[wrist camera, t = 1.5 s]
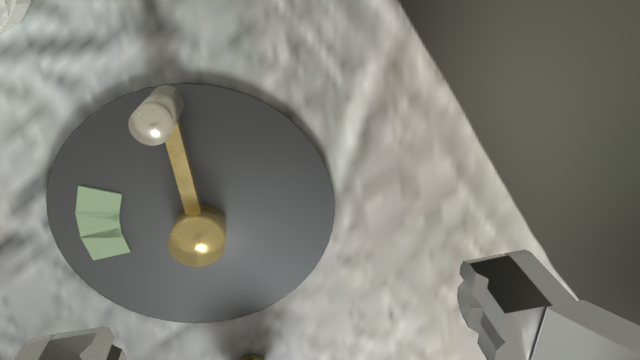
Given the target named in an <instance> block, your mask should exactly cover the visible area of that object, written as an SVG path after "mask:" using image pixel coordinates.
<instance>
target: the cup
mask: <svg viewBox="0 0 640 360" xmlns="http://www.w3.org/2000/svg"><path fill="white" fill-rule="evenodd" d="M239 360H263V359H262V358H261V357H259V356H257V355H247V356H244V357H242V358H240V359H239Z"/></svg>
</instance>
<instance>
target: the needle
mask: <svg viewBox="0 0 640 360" xmlns="http://www.w3.org/2000/svg"><path fill="white" fill-rule="evenodd" d="M184 106H185V99H184V97H183V95H182V93H181V92H180V91H179V90H178V89H177V88H175V87H173V86H170V85H162V86H159V87H157V88H156V89H154V91H153V92H152V93H151V94H150V95H149V96H148V97H147V98H146V99H145V100H144V101H143V102H142V104H141V105H140V106H139V107H138V108H137V109H136V110H135V111H134V112H133V113H132V115H131V116H130V118H129V122H128V126H129V130H130V133H131V134H132V136H133V137H134V138H135V139H136V140H137V141H139V142H140V143H142V144H145V145H150V146H155V145H159V144H162V143H164V142H165V144H166V147H167V151H168V154H169V158H170V161H171V165H172V168H173V172H174V175H175V179H176V182H177V186H178V189H179V193H180V196H181V200H182V203H183V207H184V208H182V209H181V210H180V211H179V212H178V214H177V215H176V217H175V221H174V224H173V227H172V230H171V233H170V237H169V240H168V248H169V251H170V253H171V255H172V256H173V257H174V258H175V259H176V260H177V261H178V262H180V263H182V264H184V265H187V266H191V267H203V266H207V265H210V264H212V263H214V262H216V261H217V260H218V259H219V258H220V257H221V256H222V254H223V252H224V250H225V242H226V230H227V221H226V218H225V216H224V214H223V213H222V212H221V211H220V210H219V209H218V208H216V207H215V206H213V205H210V204H207V203H201V200H200V196H199V192H198V188H197V185H196V181H195V177H194V173H193V169H192V165H191V161H190V158H189V154H188V150H187V146H186V142H185V138H184V134H183V131H182V127H181V123H180V119H179V117H180V115H181V113H182V111H183V109H184Z"/></svg>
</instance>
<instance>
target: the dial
mask: <svg viewBox="0 0 640 360" xmlns="http://www.w3.org/2000/svg"><path fill="white" fill-rule="evenodd" d="M166 85H170V86H173V87H175V88H177V89H178V90H179V91H180V92H181V93H182V95H183V97H184V99H185V106H184V109H183V111H182V113H181V115H180V117H179V119H180V123H181V127H182V131H183V134H184V138H185V142H186V146H187V150H188V154H189V158H190V161H191V165H192V169H193V173H194V177H195V181H196V185H197V188H198V192H199V196H200V200H201V203H207V204H210V205H213V206H215V207H216V208H218V209H219V210H220V211H221V212H222V213H223V214H224V216H225V218H226V221H227V230H226V242H225V250H224V252H223V254H222V256H221V257H220V258H219V259H218V260H217V261H216V262H214V263H212V264H210V265H207V266H203V267H191V266H187V265H184V264H182V263H180V262H178V261H177V260H176V259H175V258H174V257H173V256H172V255H171V253H170V251H169V248H168V240H169V237H170V233H171V230H172V227H173V224H174V221H175V217H176V215H177V214H178V212H179V211H180V210H181V209H182V208H184V207H183V203H182V200H181V196H180V193H179V189H178V186H177V182H176V179H175V175H174V172H173V168H172V165H171V161H170V158H169V154H168V151H167V147H166V144H165V142H164V143H162V144H159V145H155V146H150V145H145V144H142V143H140V142H139V141H137V140H136V139H135V138H134V137H133V136H132V134H131V133H130V130H129V126H128V122H129V118H130V116H131V115H132V113H133V112H134V111H135V110H136V109H137V108H138V107H139V106H140V105H141V104H142V102H143V101H144V100H145V99H146V98H147V97H148V96H149V95H150V94H151V93H152V92H153V91H154V89H156V88H157V87H159V86H155V87H150V88H145V89H142V90H139V91H136V92H133V93H130V94H127V95H125V96H123V97H121V98H119V99H116V100H114V101H112V102H110V103H108V104H107V105H105V106H104V107H102V108H101V109H99V110H98V111H97V112H95V113H94V114H92V115H91V116H90V117H88V118H87V119H86V120H85V121H84V122H83V123H82V124H81V125H80V126H79V127H78V128H77V129H76V130H75V131H74V132H73V133H72V134H71V135H70V137H69V138H68V139H67V141H66V142H65V143H64V145H63V146H62V148H61V150H60V152H59V154H58V155H57V157H56V159H55V161H54V164H53V167H52V170H51V173H50V176H49V180H48V188H47V196H46V199H47V215H48V219H49V224H50V228H51V231H52V234H53V236H54V239H55V241H56V244H57V246H58V248H59V249H60V251H61V253H62V255H63V256H64V258H65V260H66V261H67V262H68V264H69V265H70V266H71V267H72V269H73V270H74V271H75V272H76V274H78V275H79V276H80V277H81V278H82V279H83V280H84V281H85V282H86V283H87V284H88V285H89V286H90V287H92V288H93V289H94V290H96V291H97V292H98V293H99V294H101V295H102V296H104V297H106V298H107V299H109V300H111V301H112V302H114V303H116V304H118V305H120V306H122V307H124V308H126V309H129V310H131V311H134V312H137V313H139V314H142V315H145V316H149V317H153V318H157V319H161V320H167V321H174V322H186V323H205V322H217V321H224V320H229V319H234V318H238V317H242V316H245V315H248V314H251V313H254V312H257V311H259V310H261V309H263V308H266V307H268V306H270V305H272V304H273V303H275V302H277V301H279V300H280V299H282V298H284V297H285V296H286V295H288V294H289V293H290V292H292V291H293V290H294V289H296V288H297V287H298V286H299V285H300V284H301V283H302V282H303V281H304V280H305V279H306V278H307V277H308V275H309V274H310V273H311V272H312V271H313V269H314V268H315V267H316V265H317V264H318V262H319V260H320V259H321V257H322V256H323V253H324V251H325V249H326V247H327V245H328V242H329V239H330V236H331V232H332V228H333V222H334V195H333V189H332V184H331V181H330V178H329V174H328V171H327V169H326V167H325V165H324V163H323V161H322V159H321V156H320V154H319V153H318V151H317V150H316V148H315V147H314V145H313V144H312V142H311V141H310V139H309V138H308V137H307V136H306V135H305V134H304V132H303V131H302V130H301V129H300V128H299V127H298V126H297V125H296V124H295V123H294V122H292V121H291V120H290V119H289V118H288V117H286V116H285V115H284V114H283V113H281V112H280V111H278V110H276V109H275V108H273V107H272V106H270V105H269V104H267V103H265V102H263V101H261V100H259V99H256V98H254V97H252V96H250V95H247V94H244V93H241V92H238V91H235V90H232V89H228V88H224V87H219V86H214V85H206V84H193V83H183V84H166ZM161 86H162V85H161Z"/></svg>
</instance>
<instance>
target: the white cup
mask: <svg viewBox="0 0 640 360" xmlns="http://www.w3.org/2000/svg"><path fill="white" fill-rule="evenodd" d="M30 4H31V0H0V33H2V32H3V31H5V30H7V29H9V28H11V27H13V26H15V25H17V24H18V23H20V22H21V21H22V19H23V17H24V15H25V13H26V11H27V10H28V8H29V6H30Z"/></svg>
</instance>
